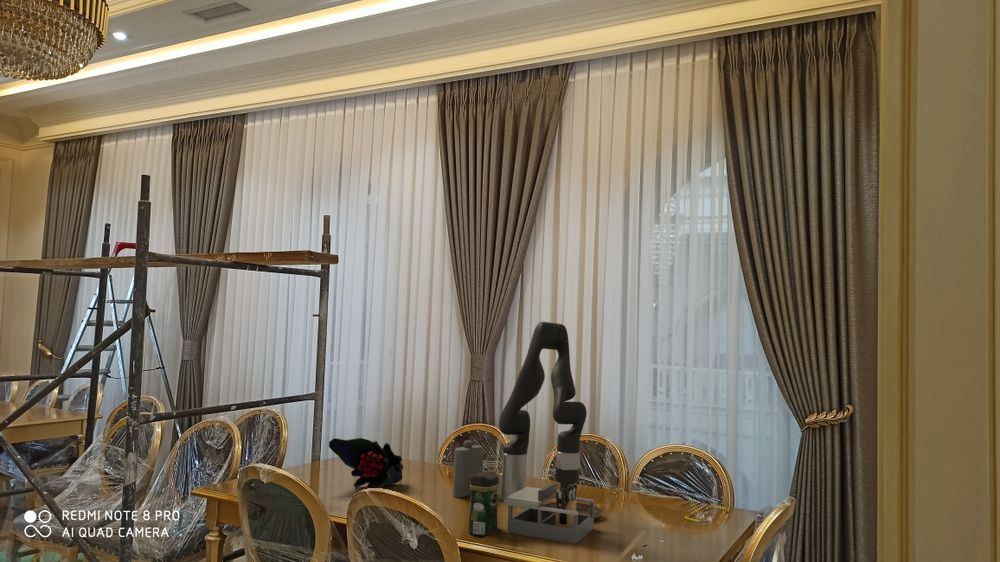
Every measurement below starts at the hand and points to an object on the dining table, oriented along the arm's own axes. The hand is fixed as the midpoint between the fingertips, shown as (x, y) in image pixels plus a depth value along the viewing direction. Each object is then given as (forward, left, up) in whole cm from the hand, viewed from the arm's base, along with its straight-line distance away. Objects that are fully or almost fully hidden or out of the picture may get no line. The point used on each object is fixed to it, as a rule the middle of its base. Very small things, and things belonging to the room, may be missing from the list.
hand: (565, 521), depth 215 cm
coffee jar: (-24, -10, -5) cm, 26 cm away
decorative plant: (-85, +21, -5) cm, 88 cm away
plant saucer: (-5, +22, -5) cm, 23 cm away
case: (-5, 0, -4) cm, 6 cm away
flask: (-51, +33, -5) cm, 60 cm away
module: (0, 0, -1) cm, 1 cm away
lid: (-11, 0, +5) cm, 12 cm away
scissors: (+35, +51, -5) cm, 62 cm away
